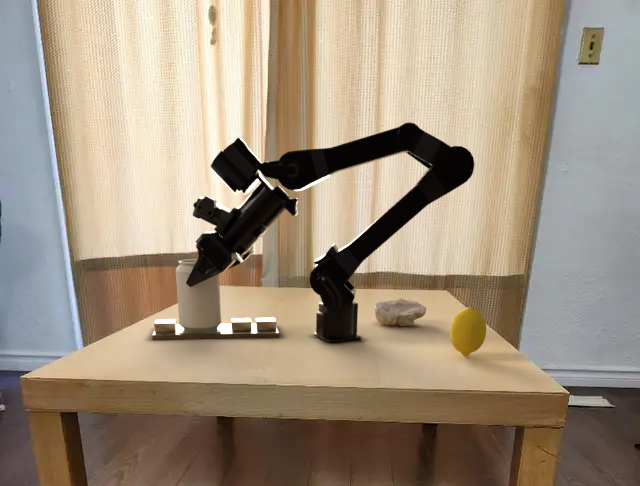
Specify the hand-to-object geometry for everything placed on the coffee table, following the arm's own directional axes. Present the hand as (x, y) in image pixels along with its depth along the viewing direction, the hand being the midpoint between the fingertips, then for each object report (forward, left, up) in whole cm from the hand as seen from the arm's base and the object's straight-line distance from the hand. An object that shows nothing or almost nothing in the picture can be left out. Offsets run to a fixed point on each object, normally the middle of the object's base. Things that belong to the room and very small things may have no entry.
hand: (195, 281), depth 102 cm
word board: (-3, +1, -9) cm, 10 cm away
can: (0, 0, -8) cm, 8 cm away
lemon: (-33, +34, -9) cm, 48 cm away
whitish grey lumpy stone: (-39, +8, -9) cm, 41 cm away
